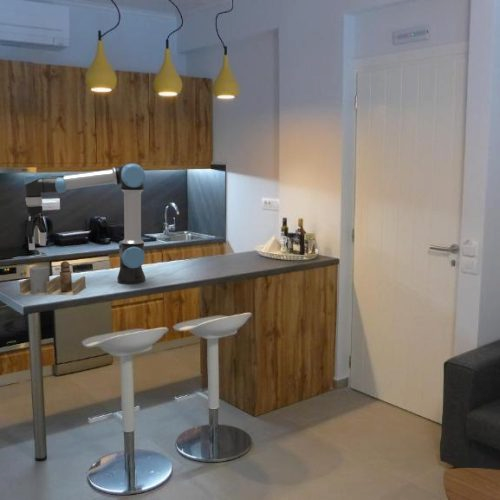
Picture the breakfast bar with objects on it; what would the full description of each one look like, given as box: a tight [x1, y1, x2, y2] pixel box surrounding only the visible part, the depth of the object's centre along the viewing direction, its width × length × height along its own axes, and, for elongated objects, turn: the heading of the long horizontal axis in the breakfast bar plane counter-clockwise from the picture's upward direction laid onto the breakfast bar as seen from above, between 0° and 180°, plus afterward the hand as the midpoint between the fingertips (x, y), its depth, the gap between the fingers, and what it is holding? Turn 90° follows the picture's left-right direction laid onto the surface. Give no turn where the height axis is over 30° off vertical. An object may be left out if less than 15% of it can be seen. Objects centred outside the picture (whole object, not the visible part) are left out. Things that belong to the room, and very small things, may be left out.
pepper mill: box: [59, 260, 73, 292], centre depth 315 cm, size 6×6×16 cm
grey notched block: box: [28, 265, 51, 294], centre depth 315 cm, size 10×10×12 cm
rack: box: [19, 275, 87, 296], centre depth 316 cm, size 28×16×7 cm, turn 86°
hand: (37, 247), depth 312 cm, fingers open, 13 cm apart
